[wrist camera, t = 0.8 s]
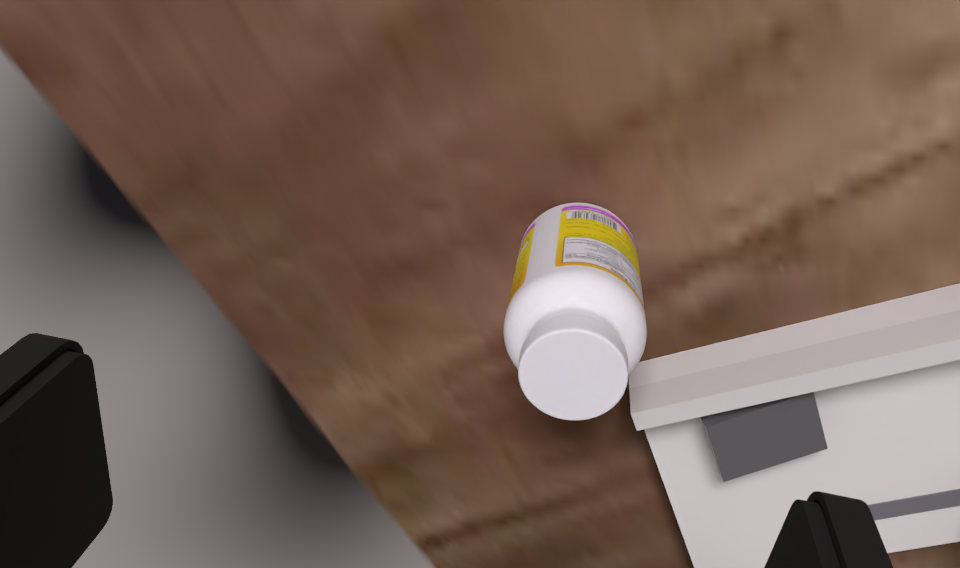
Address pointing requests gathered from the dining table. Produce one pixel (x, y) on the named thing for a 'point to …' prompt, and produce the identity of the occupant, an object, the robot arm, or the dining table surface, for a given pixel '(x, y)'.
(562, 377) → the supplement bottle
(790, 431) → the dark grey flat panel
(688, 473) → the console
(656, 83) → the dining table surface
